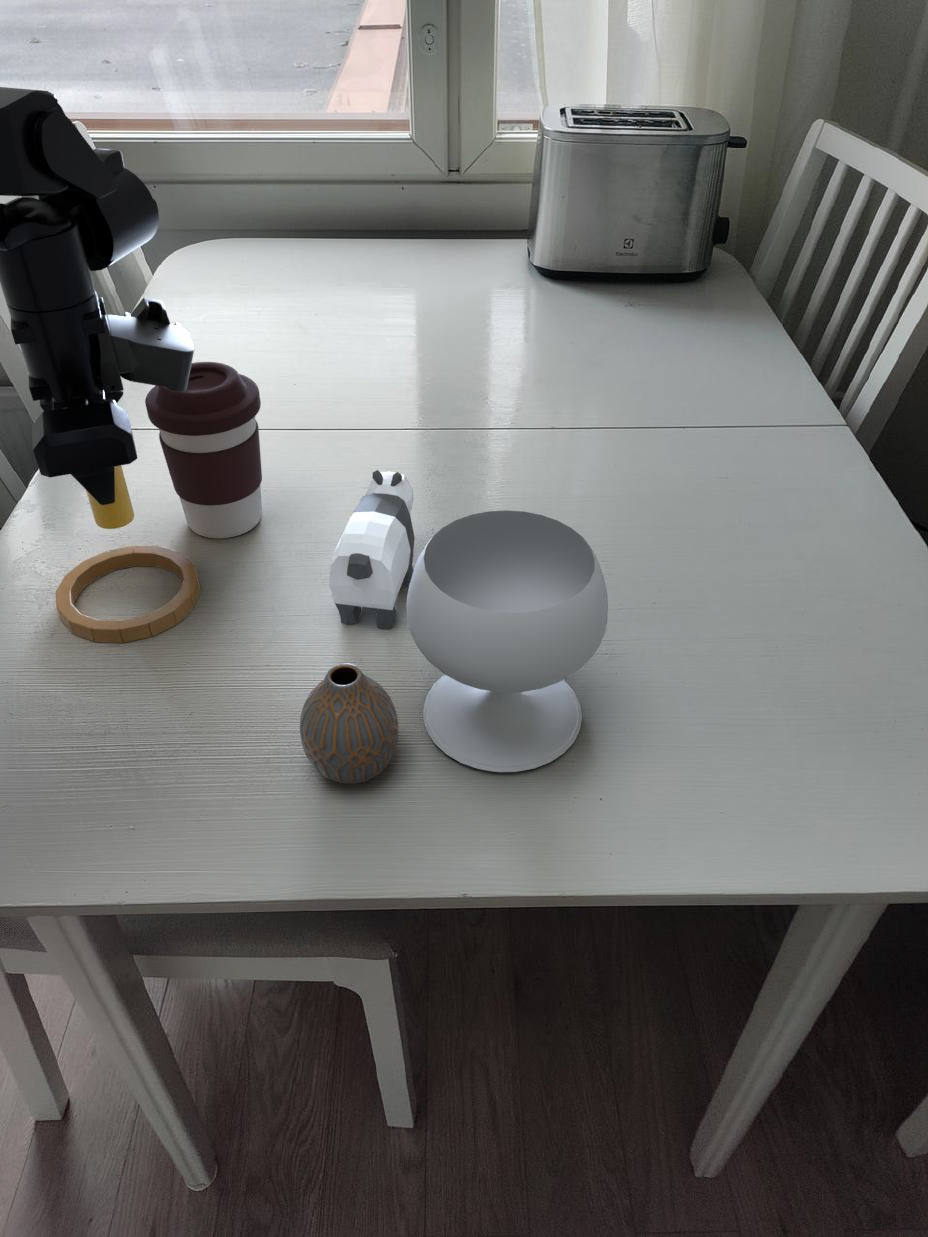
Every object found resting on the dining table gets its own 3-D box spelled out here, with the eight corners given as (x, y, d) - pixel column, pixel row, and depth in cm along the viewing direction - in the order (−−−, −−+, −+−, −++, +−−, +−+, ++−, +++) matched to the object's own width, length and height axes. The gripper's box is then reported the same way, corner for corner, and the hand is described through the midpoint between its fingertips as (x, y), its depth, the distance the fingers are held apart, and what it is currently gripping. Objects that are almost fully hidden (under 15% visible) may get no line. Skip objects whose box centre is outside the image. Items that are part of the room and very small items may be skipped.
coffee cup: (266, 550, 90) (243, 404, 80) (161, 547, 90) (126, 402, 80) (284, 492, 97) (265, 353, 88) (187, 490, 98) (158, 351, 88)
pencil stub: (117, 533, 75) (88, 430, 69) (87, 523, 76) (56, 421, 70) (142, 513, 77) (116, 412, 71) (112, 504, 78) (84, 404, 72)
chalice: (546, 638, 80) (558, 485, 71) (626, 755, 71) (653, 596, 61) (387, 678, 77) (377, 523, 67) (448, 808, 67) (447, 648, 57)
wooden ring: (140, 658, 78) (136, 645, 77) (30, 619, 82) (25, 605, 81) (226, 578, 86) (223, 565, 86) (122, 546, 90) (118, 533, 89)
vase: (355, 815, 66) (346, 727, 60) (285, 768, 69) (270, 681, 64) (419, 756, 70) (416, 668, 65) (350, 714, 74) (341, 627, 68)
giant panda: (394, 639, 80) (389, 546, 74) (330, 631, 81) (319, 539, 75) (429, 539, 91) (427, 451, 85) (373, 533, 92) (367, 446, 86)
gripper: (191, 333, 60) (230, 537, 70) (158, 237, 73) (194, 420, 83) (1, 360, 57) (70, 569, 67) (2, 254, 70) (60, 441, 80)
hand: (106, 492), depth 75 cm, fingers closed on pencil stub, 3 cm apart
